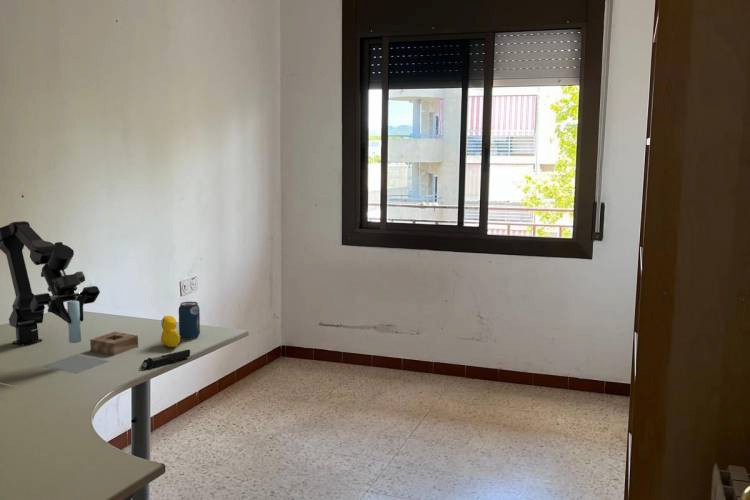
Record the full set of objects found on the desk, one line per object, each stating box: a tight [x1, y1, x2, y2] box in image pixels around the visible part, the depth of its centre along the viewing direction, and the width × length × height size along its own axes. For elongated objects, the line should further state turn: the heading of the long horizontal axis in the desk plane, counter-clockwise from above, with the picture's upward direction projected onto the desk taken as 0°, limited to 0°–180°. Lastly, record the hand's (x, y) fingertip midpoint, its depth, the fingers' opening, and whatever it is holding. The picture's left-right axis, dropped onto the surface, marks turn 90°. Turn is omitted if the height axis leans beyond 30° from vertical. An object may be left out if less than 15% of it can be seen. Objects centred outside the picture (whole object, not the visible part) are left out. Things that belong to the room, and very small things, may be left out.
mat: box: [42, 354, 110, 374], centre depth 188 cm, size 14×12×1 cm
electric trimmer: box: [140, 349, 191, 371], centre depth 191 cm, size 4×16×3 cm, turn 138°
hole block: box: [89, 331, 139, 356], centre depth 203 cm, size 10×10×4 cm
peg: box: [66, 301, 82, 344], centre depth 186 cm, size 3×3×12 cm
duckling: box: [160, 315, 181, 348], centre depth 208 cm, size 11×5×10 cm, turn 33°
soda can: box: [178, 301, 201, 340], centre depth 218 cm, size 7×7×12 cm
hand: (76, 321), depth 185 cm, fingers closed on peg, 3 cm apart
